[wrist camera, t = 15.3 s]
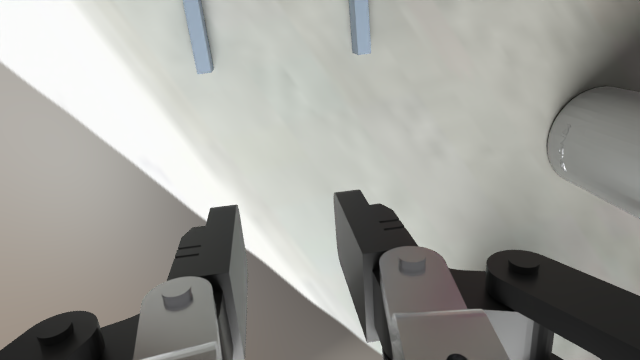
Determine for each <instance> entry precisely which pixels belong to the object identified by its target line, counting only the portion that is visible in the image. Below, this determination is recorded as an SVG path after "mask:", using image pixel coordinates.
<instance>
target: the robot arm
mask: <svg viewBox="0 0 640 360" xmlns="http://www.w3.org/2000/svg"><path fill="white" fill-rule="evenodd" d="M548 157H549V161H550V164H551V165H552V167H553V169H554V171H555V172H556V173H557V174H558V175H559V176H560V177H562V178H564V179H565V180H567V181H569V182H571V183H573V184H575V185H576V186H578V187H580V188H582V189H584V190H586V191H588V192H590V193H591V194H593V195H595V196H597V197H599V198H601V199H603V200H605V201H606V202H608V203H610V204H612V205H614V206H616V207H618V208H620V209H622V210H624V211H625V212H627V213H629V214H631V215H633V216H635V217H637V218H639V219H640V92H636V91H631V90H626V89H621V88H616V87H608V86H605V87H596V88H593V89H590V90H588V91H585V92H583V93H582V94H580V95H578V96H576V97H575V98H574V99H573V100H571V101H570V102H569V103H568V104H567V105H566V106H565V107H564V108H563V109H562V111H561V112H560V113H559V115H558V116H557V118H556V120H555V121H554V123H553V126H552V128H551V131H550V133H549V138H548ZM334 212H335V225H336V239H337V249H338V256H339V260H340V264H341V267H342V270H343V273H344V276H345V279H346V282H347V285H348V288H349V291H350V294H351V297H352V300H353V303H354V306H355V309H356V312H357V315H358V318H359V321H360V324H361V327H362V329H363V332H364V335H365V338H366V341H367V343H368V342H374V341H380V342H381V345H382V352H383V360H563V359H561V358H560V357H558V356H556V355H555V354H553V353H551V352H552V345H553V338H554V333H556V334H558V335H560V336H561V337H563V338H565V339H567V340H569V341H570V342H572V343H574V344H576V345H578V346H579V347H581V348H583V349H585V350H587V351H588V352H590V353H592V354H594V355H596V356H597V357H599V358H600V359H601V360H640V296H638V295H636V294H633V293H631V292H629V291H626V290H624V289H622V288H619V287H617V286H614V285H612V284H610V283H607V282H605V281H602V280H600V279H598V278H595V277H593V276H591V275H588V274H586V273H583V272H581V271H579V270H576V269H574V268H571V267H569V266H567V265H564V264H562V263H560V262H557V261H555V260H552V259H550V258H548V257H545V256H543V255H540V254H537V253H533V252H529V251H523V250H506V251H500V252H497V253H495V254H493V255H491V256H490V257H489V258H488V260H487V265H486V271H466V270H455V269H450V268H448V266H447V264H446V262H445V260H444V258H443V257H442V256H441V255H440V254H438V253H437V252H435V251H433V250H430V249H428V248H424V247H418V245H417V244H416V242H415V241H414V239H413V238H412V237H411V235H410V234H409V232H408V231H407V230H406V228H404V225H403V224H402V222H401V221H399V218H398V217H397V215H396V214H395V213H394V211H393V210H392V209H390V208H388V207H386V206H384V205H382V204H373V205H369V204H368V202H367V201H366V199H365V197H364V195H363V194H362V192H361V191H360V190H352V191H344V192H336V193H334ZM247 288H248V269H247V259H246V252H245V245H244V239H243V233H242V226H241V220H240V214H239V209H238V205H230V206H222V207H214V208H210V211H209V215H208V219H207V223H206V226H201V227H194V228H192V229H191V230H189V232H187V233H186V234H185V235H184V236H183V237H182V238H181V241H180V244H179V247H178V250H177V253H176V255H175V259H174V262H173V264H172V267H171V270H170V273H169V276H168V279H167V281H166V282H164V283H162V284H160V285H158V286H156V287H155V288H153V289H152V290H151V291H150V292H149V293H147V295H146V296H145V297H144V299H143V301H142V304H141V311H140V314H138V315H135V316H133V317H131V318H128V319H126V320H123V321H120V322H117V323H114V324H111V325H108V326H105V327H102V328H100V326H99V322H98V319H97V317H96V316H95V315H94V314H92V313H90V312H86V311H73V312H66V313H62V314H59V315H56V316H53V317H50V318H48V319H46V320H44V321H42V322H40V323H38V324H36V325H35V326H33V327H32V328H30V329H29V330H27V331H26V332H25V333H24V334H22V335H21V336H19V337H18V338H17V339H15V340H14V341H12V343H10V344H8V345H7V346H6V347H4V348H3V349H2V350H0V360H245V343H246V342H245V341H246V316H247Z"/></svg>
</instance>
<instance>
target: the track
mask: <svg viewBox="0 0 640 360" xmlns="http://www.w3.org/2000/svg"><path fill="white" fill-rule="evenodd" d="M183 4H184V9H185V14H186V19H187V24H188V29H189V34H190V39H191V44H192V49H193V54H194V59H195V64H196V69H197V74H203V73H211V72H212V71H213V70H214V69H213V63H212V58H211V53H210V47H209V42H208V36H207V31H206V26H205V20H204V15H203V9H202V4H201V0H183ZM349 9H350V23H351V37H352V51H353V53H355V54H357V55H361V54H369V53H371V43H370V26H369V8H368V0H349Z"/></svg>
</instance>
